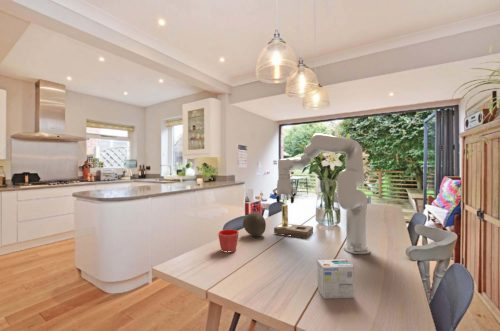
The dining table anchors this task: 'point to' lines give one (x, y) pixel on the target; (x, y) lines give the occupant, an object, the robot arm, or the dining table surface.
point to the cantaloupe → (254, 224)
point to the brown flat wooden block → (294, 230)
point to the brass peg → (284, 215)
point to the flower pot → (228, 239)
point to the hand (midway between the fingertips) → (285, 202)
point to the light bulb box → (335, 278)
